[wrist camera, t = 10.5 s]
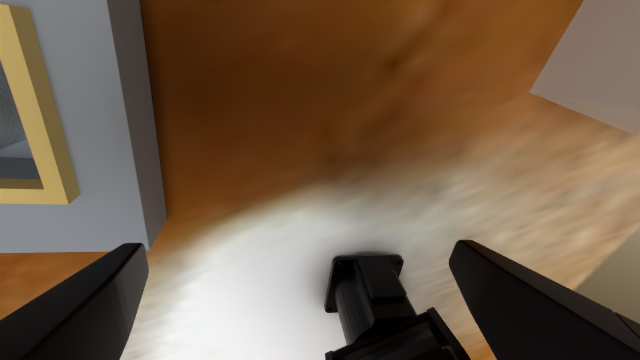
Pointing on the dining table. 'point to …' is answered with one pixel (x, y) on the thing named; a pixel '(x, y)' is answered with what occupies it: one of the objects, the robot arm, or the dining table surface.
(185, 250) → the dining table surface
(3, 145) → the spout can
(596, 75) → the milk
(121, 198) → the grey flat square piece
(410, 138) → the dining table surface
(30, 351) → the robot arm
